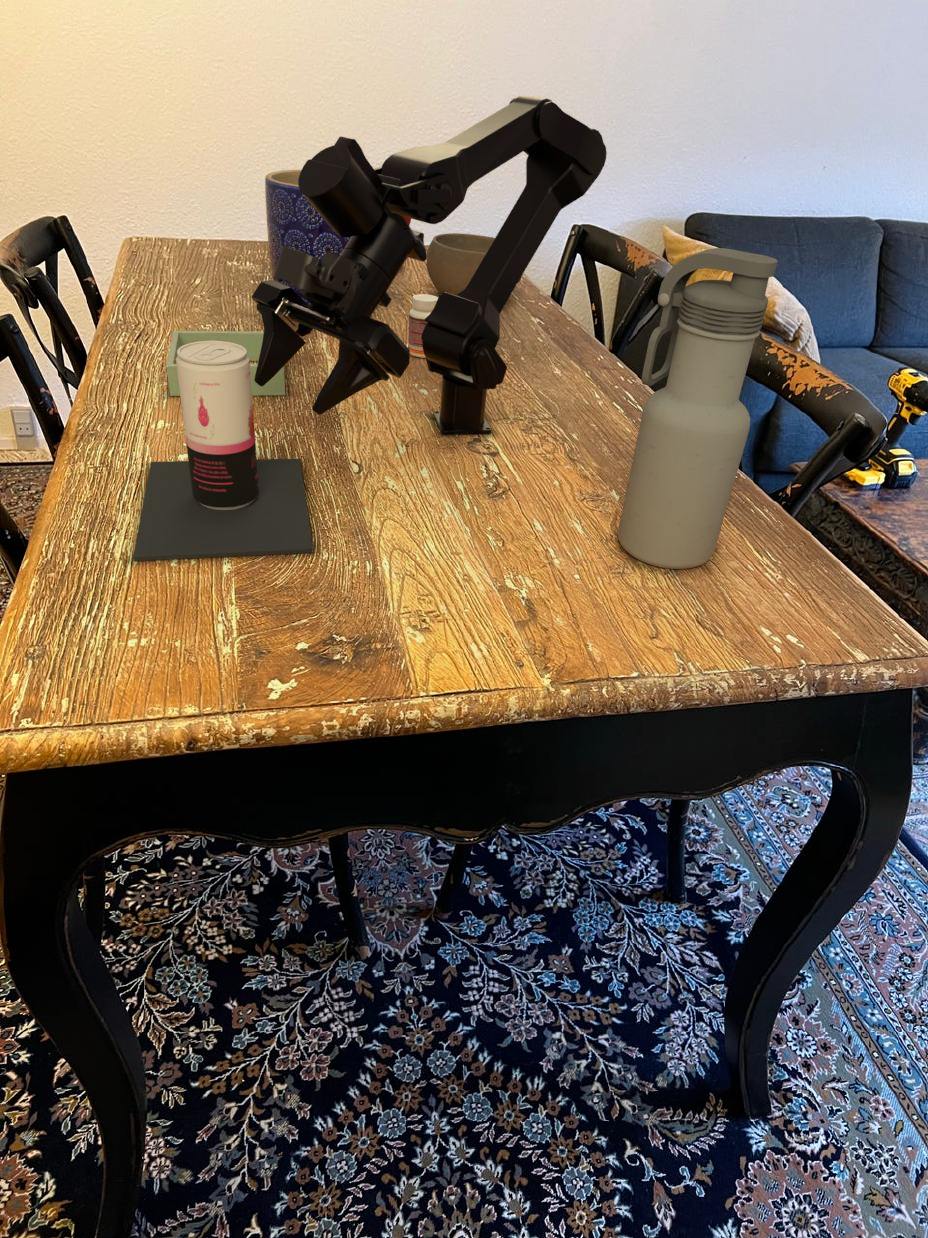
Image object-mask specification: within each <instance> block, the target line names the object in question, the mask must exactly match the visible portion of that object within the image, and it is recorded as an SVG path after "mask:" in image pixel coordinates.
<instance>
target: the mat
mask: <svg viewBox="0 0 928 1238" xmlns="http://www.w3.org/2000/svg"><path fill="white" fill-rule="evenodd" d="M256 459H257V458H256ZM302 469H303V468H302V463H301V458H261V459H257V472H258V486H259V494H258V496H257V498H256V499H255V500H254V501H253V502H251V503H250V504H249V505H247V506H244V507H242V508H238V509H233V510H216V509H211V508H207V507H205V506H203V505H201V504H200V503H199V502H197V501H196V500H195V499H194V497H193V493H192V485H191V477H190V469H189V461H188V460H173V461H151V462H150V465H149V471H148V476H147V482H146V487H145V493H144V498H143V502H142V508H141V513H140V518H139V524H138V528H137V529H138V530H137V534H136V535H137V536H136V540H135V545H134V551H133V556H132V558H133V561H134V562H146V561H148V562H149V561H165V560H166V561H167V560H169V561H170V560H188V559H189V560H190V559H208V558H209V559H210V558H232V557H251V556H273V555H274V556H275V555H293V554H312V553H313V552H314V548H313V542H312V534H311V527H310V521H309V513H308V507H307V506H308V505H307V498H306V491H305V484H304V478H303V470H302Z"/></svg>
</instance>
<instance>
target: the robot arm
mask: <svg viewBox="0 0 928 1238" xmlns="http://www.w3.org/2000/svg"><path fill="white" fill-rule="evenodd" d="M523 152H524V153H525V154H526V155H527V158H526V160H525V186H524V188H523V190H522V192H521V193H520V195H519V197H518V198H517V200H516V202H515V203H514V205H513V206H512V208H511V210H510V212H509V214H508V215H507V217H506V219H505V220H504V222H503V224H502V226H501V227H500V229H499V231H498V232H497V234H496V236H495V237H494V238H495V239H494V241H493V243H492V244H491V246H490V248H489V249H488V251H487V253H486V254H485V256H484V258H483V260H482V261H481V263H480V265H479V266H478V268H477V270H476V272H475V273H474V275H473V277H472V278H471V280H470V282H469V283H468V285H467V287H466V288H465V289H464V290H463V291H462V292H460V293H458V294H457V295H453V294H449V293H446V292H443V293H442V294H441V293H440V295H439V296H438V300H437V302H436V304H435V307H434V309H433V310H432V312H431V313H430V315H428V316H427V317H426V318H425V322H428V323H427V324H426V325H425V328H424V330H423V332H422V336H421V340H422V344H423V351H424V355H425V357H426V358H425V361H426V365H427V370H428V372H430V373H435V374H437V375H440V376H442V377H441V378H442V379H441V391H440V393H441V394H440V409H439V410H433V411H432V416H433V419H434V420H435V423H436V425H437V427H438V429H439V431H440V433H441V434H444V435H459V434H460V435H462V434H463V435H464V434H469V435H470V434H492V431H493V428H492V427H491V425H490V423H489V421H488V420H487V418H486V407H487V396H488V390H495V389H497V386H498V385H501V384H503V382H504V379H505V376H506V373H507V370H508V366H507V364H506V363H505V361H504V360H503V358H502V357H501V355H500V354H499V352H498V351H497V350H496V347H497V346H498V343H499V341H500V338H501V333H500V332H501V313H502V311H503V309H504V307H505V305H506V303H507V302H508V300H509V298H510V296H511V295H512V293H513V291H514V290H515V289H516V286H517V285H518V284H519V283H518V281H519V280H520V278H521V279H522V277H523V274H524V273H525V271H526V269H527V268H528V266H529V265H530V263H531V261H532V259H533V257H534V256H535V255H536V252H537V251H538V249H539V248H540V246H541V244H542V242H543V240H544V239H545V237H546V236H547V234H548V232H549V230H550V229H551V227H552V225H553V223H554V222H555V220H556V218H557V217H558V215H559V213H560V212H561V211H562V209H564V208H566V207H567V206H569V205H571V204H572V203H574V202H575V201H577V200H578V199H580V198H582V197H583V196H585V195H586V193H587V192H588V190H589V189H590V188H591V187H592V185H593V184H594V183H595V181H597V179H598V177H599V176H600V175H601V173H602V171H603V169H604V166H605V165H606V161H607V152H608V151H607V146H606V145H605V142H604V139H603V135H602V134H601V133H600V130H597V129H596V128H591V127H589V126H587V125H586V124H585V123H583V122H581V121H580V120H578V119H576V118H575V117H573V116H571V115H570V114H568V113H566V112H565V111H563V110H562V108H561V107H560V106H559V105H557V103H555V102H554V101H552V99H550V98H545V97H540V96H533V95H525V94H521V95H518V96H516V97H514V98H512V99H511V101H509V103H508V104H507V105H506V106H504V107H502V108H500V109H498V110H497V111H495V112H493V113H492V114H490V115H488V116H487V117H486V118H483V119H482V120H480V121H479V122H476V123H475V124H473V125H472V126H470V127H468V128H466V129H465V130H463V131H462V132H460V133H458V134H457V135H454V136H453V137H452V138H449V139H447V141H444V142H442V143H438V144H433V145H432V144H431V145H423V146H417V147H416V146H415V147H412V148H408V149H405V150H401V151H397V152H395V153H393V154H391V155H389V156H388V157H387V158H386V159H385V160H384V162H383V163H382V165H381V166H378V167H375V168H374V167H373V166H372V164H371V162H370V161H369V160H368V158H367V157H366V155H365V153H364V150H363V148H362V147H361V145H360V144H359V142H357V139H356V138H351V137H346V136H339V137H337V140H336V141H335V143H334V145H331V146H328V147H325V148H323V149H322V150H320V151H318V152H317V153H316V154H315V155H314V156H313V157H311V158H310V159H307V160H306V162H305V163H304V165H303V166H302V168H301V169H300V170H301V172H300V175H299V179H298V186H299V190H300V191H301V193H302V194H303V195H304V196H305V198H306V199H307V200H308V201H309V202H310V204H311V205H312V206H313V207H314V208H315V209H316V211H317V212H318V213H319V214H320V215H321V217H322V218H323V219H324V220H325V221H326V223H327V224H328V225H329V226H330V227H331V229H332V230H333V231H334V232H335V233H336V234H337V235H338V236H340V237H351V238H350V240H349V242H348V243H347V245H346V246H345V248H344V250H343V251H342V253H341V254H340V255H337V254H334V253H331V252H327V253H326V254H325V256H324V257H323V258H322V259H319V258H316V257H313V256H311V255H308V254H306V253H303V252H300V251H297V250H294V249H291V248H288V247H285V246H282V248H281V252H280V255H279V259H278V263H277V266H276V270H275V273H274V277H273V278H272V279H268V280H263V281H260V282H259V283H258V285H257V287H256V289H255V290H254V292H253V294H252V295H251V299H252V300H253V301H254V302H255V303H256V307H255V309H256V312H257V313H259V314H260V317H261V321H262V325H263V331H264V334H263V342H262V347H261V351H260V356H259V360H258V361H257V364H258V365H257V369H256V374H255V379H254V381H255V382H256V383H257V384H258V385H259V386H264V385H265V384H266V383H267V382H268V381H270V380H271V379H272V378H273V377H274V376H275V375H276V374H277V373H278V372H279V371H280V370H281V369H282V367H283V366H284V367H285V366H286V365H287V363H288V362H290V360H291V359H292V358H293V357H294V356H295V355H297V353H298V352H299V351H300V350H301V349H302V348H303V347H304V346H305V345H306V343H307V342H306V340H305V339H304V338H303V337H305V336H307V335H309V334H311V333H312V332H313V330H315V331H317V332H320V333H322V334H325V335H327V336H330V337H332V338H333V339H336V340H339V341H338V357H337V361H336V362H335V364H334V366H333V368H332V370H331V371H330V373H329V375H328V377H327V378H326V380H325V382H324V384H323V386H322V387H321V389H320V391H319V392H318V394H317V395H316V399H315V401H314V403H313V405H312V411H313V412H314V413H315V414H317V415H318V416H320V415H322V414H324V413H326V412H328V411H329V410H331V409H332V408H334V407H336V406H337V405H339V404H341V403H343V402H344V401H345V400H347V399H349V398H350V397H352V396H354V395H355V394H357V393H358V392H361V391H363V390H364V389H366V388H368V387H371V386H372V385H375V384H376V383H378V382H380V381H384V382H387V381H388V380H390V378H391V377H390V375H391V376H393V377H395V378H398V379H401V378H402V376H403V375H404V373H405V371H406V370H407V368H408V367H409V365H410V359H411V357H410V356H411V354H410V350H409V349H408V345H406V344H405V343H404V342H403V340H402V339H401V338H400V337H399V336H398V335H397V333H396V332H395V331H394V330H393V328H392V327H391V326H390V325H389V324H388V323H385V322H383V321H380V320H377V319H375V318H372V316H373V314H374V312H375V311H376V309H377V307H378V306H381V307H384V308H388V307H389V305H390V304H391V301H392V300H393V299H392V298H391V296H390V295H389V294H388V293H387V292H388V290H389V288H390V287H391V285H392V283H393V282H394V281H395V279H396V277H397V276H398V274H399V272H400V271H401V269H402V267H403V266H404V264H405V263H406V261H407V260H408V259H412V260H416V261H418V262H419V261H420V262H425V261H426V258H427V248H426V246H425V234H424V233H423V232H421V231H418V230H414V229H412V227H411V225H410V226H409V225H408V224H407V222H406V221H405V219H404V218H403V217H407V218H411V220H414V221H419V222H422V223H426V224H430V225H438V224H440V223H442V222H444V221H445V220H446V219H447V218H448V217H449V216H450V215H451V214H452V213H454V211H456V209H458V207H460V206H461V205H462V204H463V202H464V201H465V198H466V195H467V192H468V189H469V188H470V187H471V186H472V185H473V184H474V183H475V182H477V181H478V180H480V179H482V178H483V177H485V176H487V175H488V174H489V173H492V172H493V171H495V170H496V169H497V168H499V167H501V166H502V165H504V164H506V163H508V161H510V160H512V159H514V158H515V157H518V155H520V154H521V153H523ZM402 216H403V217H402ZM521 276H522V277H521ZM273 279H275V280H277V281H280V282H282V281H286V282H288V283H291V284H292V286H294V287H296V288H299V289H301V290H300V292H299V293H300V294H301V295H302V296H303V297H304V299H305V300H308V301H309V302H310V303H311V305H310V307H309V306H308V305H307V303H306V302H305V301H304V300H303V299H302V298H301V297H300V296H299V295H298V294H297V293H296V292H295V291H294V290H293V289H292V288H291V287H288V286H286V285H283V284H281V283H278V282H275V281H273ZM520 281H521V280H520ZM321 321H323V322H321Z"/></svg>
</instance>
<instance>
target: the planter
mask: <svg viewBox="0 0 928 1238" xmlns="http://www.w3.org/2000/svg"><path fill="white" fill-rule="evenodd" d="M301 170H302V169H285V170H277V171H272V172H269V173H267V174H266V175H265V176H264V193H265V194H264V196H265V214H266V215H265V216H266V230H267V243H268V244H267V245H268V254H269V263H270V270H271V277H272V280H273V281H275V282H278V283H281V284H283V285H286V286H288V287H291V288H292V289H293V290H294V291H295V292H296V293H297V294H298V295H299V296H300V297H301V298H302V299H303V300H304V301H305V302H306V303H307V305H308V306H309V307H310V305H311V303H310V302H309V301H308V300H305V299H304V297H303V296H302V295H301V294H300V293H299V292H300V290H301V289H299V288H296V287H294V286H292V284H291V283H288V282H286V281H282V282H280V281H277V280H275V279H273V277H274V273H275V270H276V266H277V263H278V259H279V255H280V252H281V248H282V246H285V247H288V248H291V249H294V250H297V251H300V252H303V253H306V254H308V255H311V256H313V257H316V258H319V259H322V258H323V257H324V256H325V254H326V253H327V252H331V253H334V254H337V255H340V254H341V253H342V251H343V250H344V248H345V246H346V245H347V243H348V242H349V240H350V238H351V237H340V236H338V235H337V234H336V233H335V232H334V231H333V230H332V229H331V227H330V226H329V225H328V224H327V223H326V221H325V220H324V219H323V218H322V217H321V215H320V214H319V213H318V212H317V211H316V209H315V208H314V207H313V206H312V205H311V204H310V202H309V201H308V200H307V199H306V198H305V196H304V195H303V194H302V193H301V191H300V190H299V186H298V179H299V175H300V172H301ZM321 323H324V322H323V321H321Z"/></svg>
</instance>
